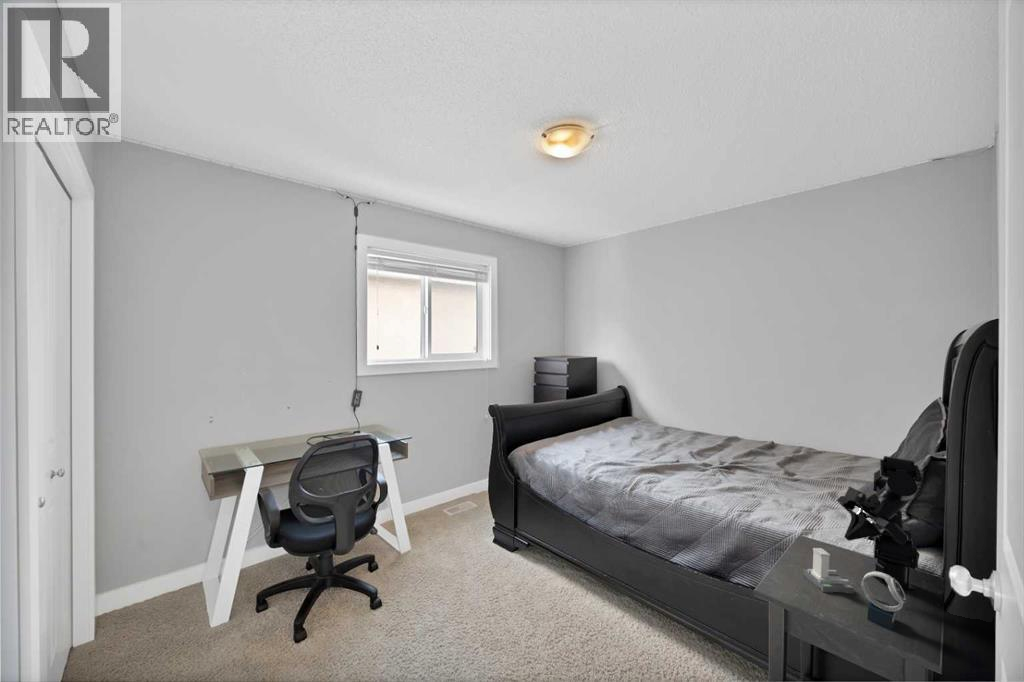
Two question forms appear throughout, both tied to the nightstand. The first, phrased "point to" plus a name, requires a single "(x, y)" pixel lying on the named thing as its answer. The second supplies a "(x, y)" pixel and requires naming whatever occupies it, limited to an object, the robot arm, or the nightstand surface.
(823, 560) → the handle
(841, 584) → the breaker panel
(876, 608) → the watch
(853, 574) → the nightstand surface
